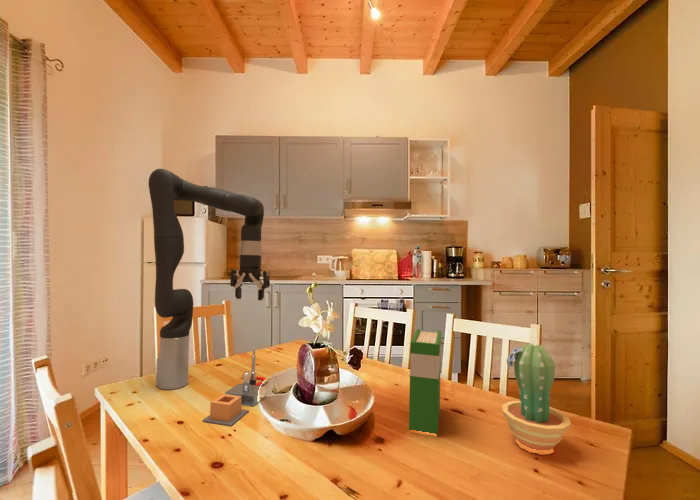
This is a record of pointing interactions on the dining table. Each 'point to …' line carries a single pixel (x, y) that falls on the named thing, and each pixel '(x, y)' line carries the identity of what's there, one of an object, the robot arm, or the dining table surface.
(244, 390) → the vise block
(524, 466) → the dining table surface
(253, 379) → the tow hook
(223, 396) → the link
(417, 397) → the hardback book
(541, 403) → the potted cactus
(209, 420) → the pad
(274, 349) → the dining table surface
